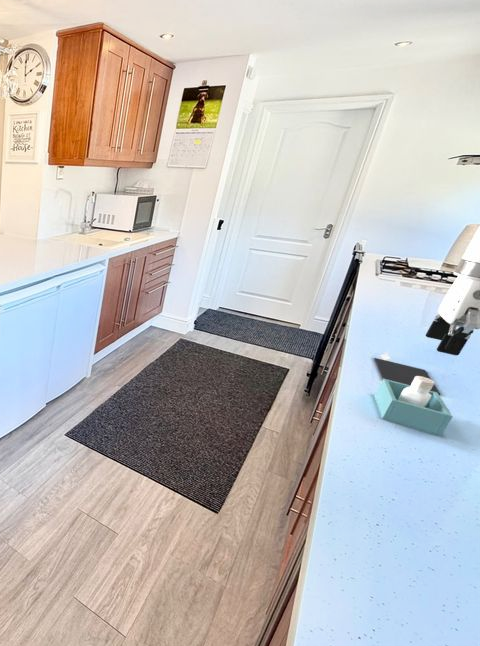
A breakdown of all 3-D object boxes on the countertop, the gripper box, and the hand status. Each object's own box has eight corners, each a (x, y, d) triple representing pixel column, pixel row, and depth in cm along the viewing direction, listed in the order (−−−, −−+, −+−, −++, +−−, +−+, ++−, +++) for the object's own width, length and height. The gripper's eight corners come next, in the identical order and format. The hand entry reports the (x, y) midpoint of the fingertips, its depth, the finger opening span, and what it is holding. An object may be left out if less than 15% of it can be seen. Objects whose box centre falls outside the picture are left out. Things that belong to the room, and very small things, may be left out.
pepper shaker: (420, 416, 95) (440, 382, 91) (413, 420, 93) (433, 385, 90) (398, 407, 98) (416, 373, 95) (390, 410, 97) (409, 376, 93)
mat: (424, 371, 118) (425, 369, 118) (439, 395, 105) (440, 394, 105) (374, 358, 124) (374, 357, 124) (383, 380, 111) (383, 379, 111)
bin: (426, 410, 98) (437, 392, 96) (440, 436, 89) (453, 416, 87) (374, 396, 103) (383, 378, 101) (381, 418, 94) (392, 399, 92)
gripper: (530, 284, 74) (478, 365, 81) (495, 267, 87) (453, 338, 94) (470, 276, 78) (426, 353, 85) (445, 260, 91) (408, 329, 98)
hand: (440, 345), depth 89 cm, fingers open, 9 cm apart
